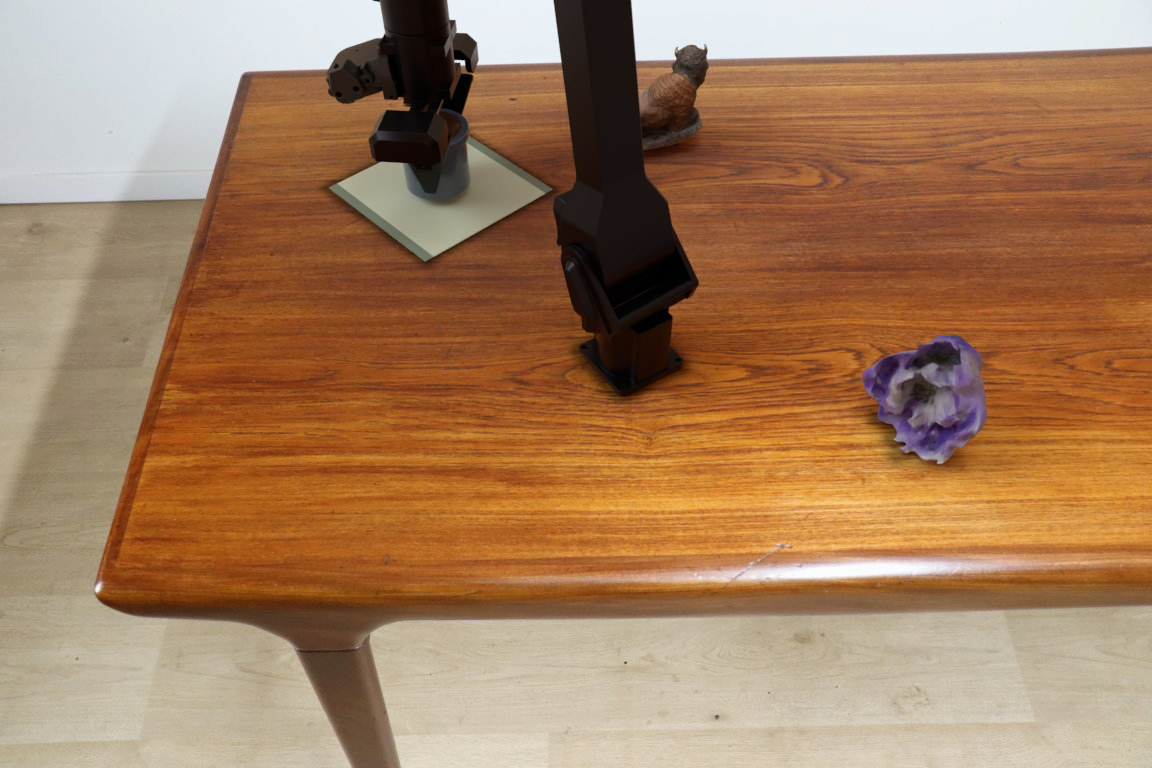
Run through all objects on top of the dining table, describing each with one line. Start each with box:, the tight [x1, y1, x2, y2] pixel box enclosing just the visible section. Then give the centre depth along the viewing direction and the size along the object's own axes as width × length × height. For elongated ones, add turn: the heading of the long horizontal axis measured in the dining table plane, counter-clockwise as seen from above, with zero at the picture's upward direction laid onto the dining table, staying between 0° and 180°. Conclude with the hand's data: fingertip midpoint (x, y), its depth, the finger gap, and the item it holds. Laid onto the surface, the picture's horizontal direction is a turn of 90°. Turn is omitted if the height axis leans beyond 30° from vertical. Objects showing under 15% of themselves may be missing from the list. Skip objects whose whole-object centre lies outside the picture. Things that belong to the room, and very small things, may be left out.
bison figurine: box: [638, 43, 710, 151], centre depth 97 cm, size 12×7×10 cm, turn 106°
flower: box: [861, 334, 988, 465], centre depth 72 cm, size 9×9×10 cm
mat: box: [328, 135, 554, 263], centre depth 95 cm, size 16×16×1 cm
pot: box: [403, 108, 471, 200], centre depth 92 cm, size 7×7×6 cm
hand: (438, 171), depth 94 cm, fingers closed on pot, 6 cm apart
